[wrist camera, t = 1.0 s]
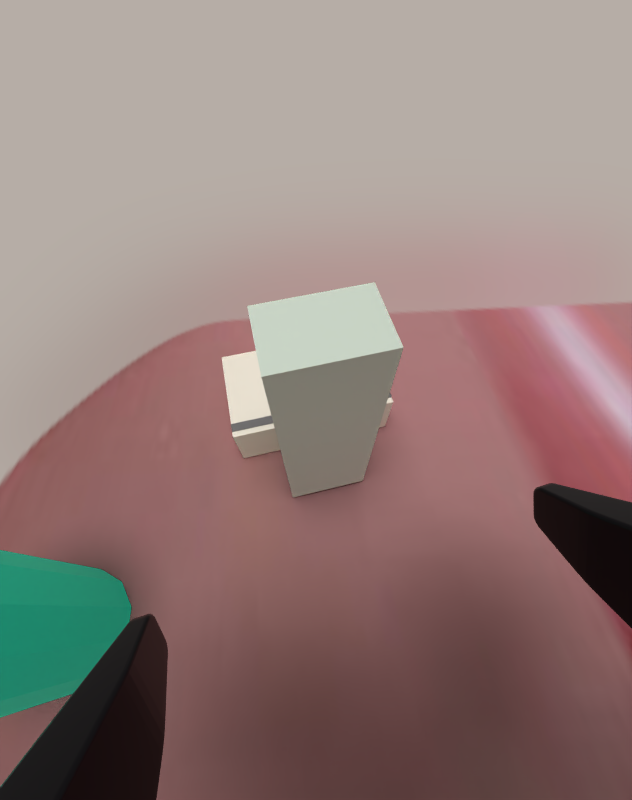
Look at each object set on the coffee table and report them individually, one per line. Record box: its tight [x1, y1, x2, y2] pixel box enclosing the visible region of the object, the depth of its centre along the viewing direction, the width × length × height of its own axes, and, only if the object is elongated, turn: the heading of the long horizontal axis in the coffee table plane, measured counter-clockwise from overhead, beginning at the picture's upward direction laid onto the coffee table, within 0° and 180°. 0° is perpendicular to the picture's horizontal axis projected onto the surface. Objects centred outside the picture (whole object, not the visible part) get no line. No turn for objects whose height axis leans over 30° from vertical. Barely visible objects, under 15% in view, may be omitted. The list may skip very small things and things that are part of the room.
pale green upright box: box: [247, 283, 403, 497], centre depth 19 cm, size 3×5×14 cm, turn 103°
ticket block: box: [222, 351, 393, 458], centre depth 26 cm, size 6×10×4 cm, turn 103°
